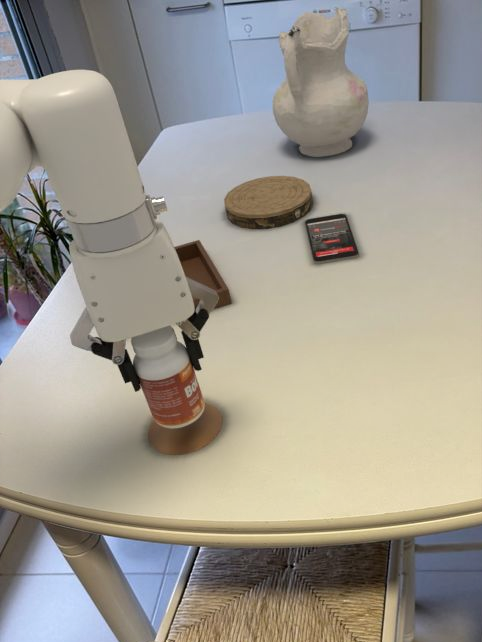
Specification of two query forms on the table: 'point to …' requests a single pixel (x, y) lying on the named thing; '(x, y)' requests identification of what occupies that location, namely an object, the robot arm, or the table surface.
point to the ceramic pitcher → (319, 86)
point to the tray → (202, 271)
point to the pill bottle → (167, 378)
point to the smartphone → (331, 239)
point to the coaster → (186, 433)
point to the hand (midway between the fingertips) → (165, 372)
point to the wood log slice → (268, 202)
